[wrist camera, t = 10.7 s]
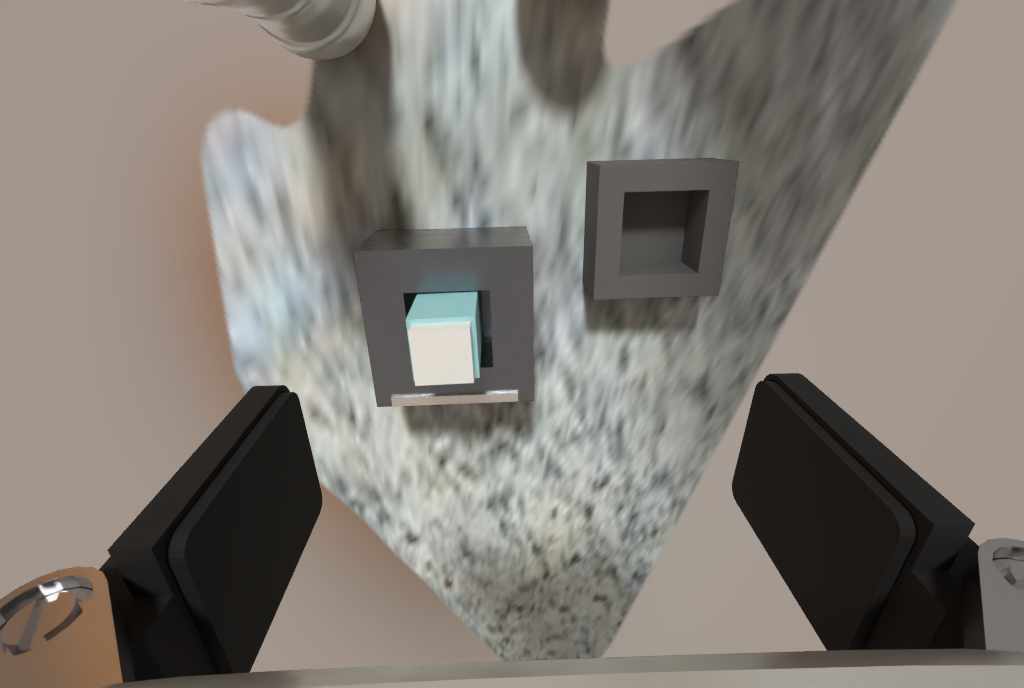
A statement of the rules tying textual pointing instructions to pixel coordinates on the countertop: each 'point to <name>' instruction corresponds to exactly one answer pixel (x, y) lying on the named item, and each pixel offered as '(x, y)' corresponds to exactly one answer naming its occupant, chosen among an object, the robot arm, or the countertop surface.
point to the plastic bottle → (308, 23)
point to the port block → (442, 268)
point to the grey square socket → (657, 227)
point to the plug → (445, 337)
